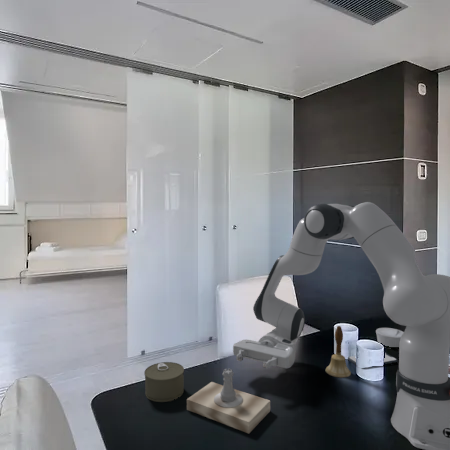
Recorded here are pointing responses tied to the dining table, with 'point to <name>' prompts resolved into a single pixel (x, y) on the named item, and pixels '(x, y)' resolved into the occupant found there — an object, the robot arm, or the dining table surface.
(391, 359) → the phone case
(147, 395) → the can
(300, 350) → the dining table surface
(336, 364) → the hand bell
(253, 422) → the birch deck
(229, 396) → the rook chess piece
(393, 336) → the ramekin
